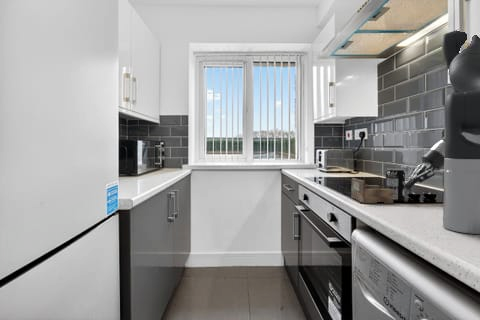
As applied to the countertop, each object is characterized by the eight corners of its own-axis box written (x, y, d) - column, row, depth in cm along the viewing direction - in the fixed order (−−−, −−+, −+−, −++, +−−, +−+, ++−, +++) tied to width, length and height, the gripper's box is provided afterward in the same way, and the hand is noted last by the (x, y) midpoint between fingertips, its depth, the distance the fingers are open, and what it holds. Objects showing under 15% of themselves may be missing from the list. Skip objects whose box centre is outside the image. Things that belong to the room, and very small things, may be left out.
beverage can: (400, 199, 119) (400, 168, 119) (407, 202, 113) (408, 169, 112) (382, 198, 120) (383, 168, 120) (389, 201, 113) (389, 169, 113)
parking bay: (378, 197, 122) (378, 178, 122) (392, 203, 110) (393, 181, 110) (350, 197, 123) (351, 177, 122) (361, 203, 111) (362, 181, 110)
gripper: (421, 148, 122) (390, 179, 123) (442, 148, 109) (407, 183, 109) (435, 161, 122) (403, 192, 123) (457, 163, 109) (422, 197, 109)
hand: (405, 187), depth 116 cm, fingers closed
